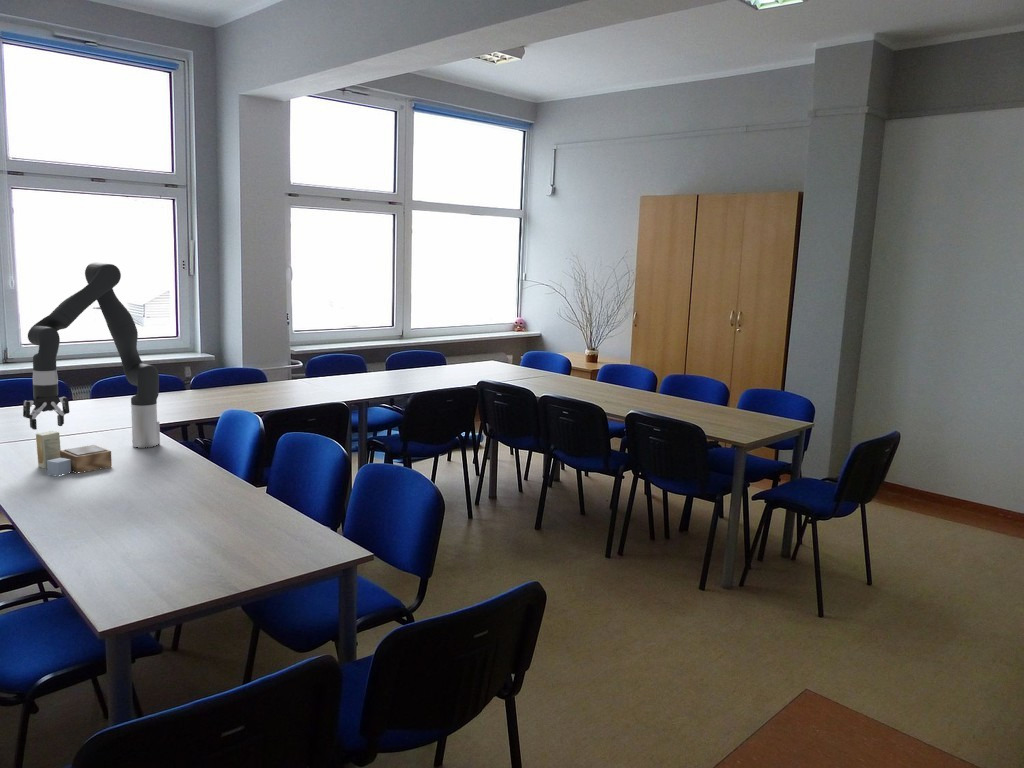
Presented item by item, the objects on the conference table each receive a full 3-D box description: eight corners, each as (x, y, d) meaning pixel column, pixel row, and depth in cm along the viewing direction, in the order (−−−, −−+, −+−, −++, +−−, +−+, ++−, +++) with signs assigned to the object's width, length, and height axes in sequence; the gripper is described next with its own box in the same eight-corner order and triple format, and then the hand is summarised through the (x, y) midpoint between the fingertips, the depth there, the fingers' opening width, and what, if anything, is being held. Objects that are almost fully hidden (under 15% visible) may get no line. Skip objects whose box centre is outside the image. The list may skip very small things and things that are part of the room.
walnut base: (95, 460, 280) (94, 444, 278) (111, 467, 273) (111, 449, 272) (60, 467, 270) (59, 449, 269) (77, 473, 263) (76, 455, 262)
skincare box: (55, 463, 274) (53, 430, 272) (62, 465, 272) (60, 432, 270) (37, 466, 269) (35, 433, 267) (43, 468, 267) (41, 435, 265)
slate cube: (60, 471, 265) (60, 457, 264) (71, 473, 264) (70, 459, 263) (47, 474, 261) (46, 460, 260) (58, 476, 259) (57, 462, 258)
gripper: (61, 379, 274) (63, 423, 276) (18, 383, 262) (20, 428, 265) (71, 382, 269) (73, 426, 272) (27, 386, 258) (30, 432, 260)
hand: (47, 427), depth 268 cm, fingers open, 8 cm apart
